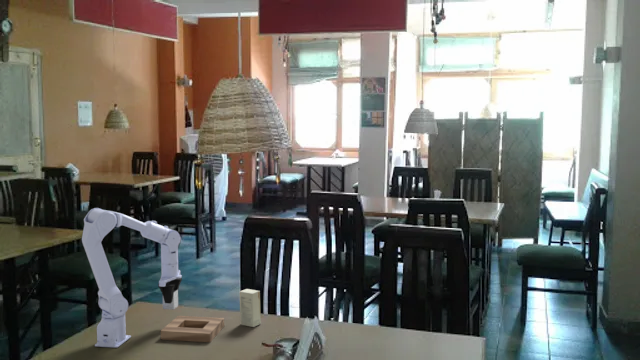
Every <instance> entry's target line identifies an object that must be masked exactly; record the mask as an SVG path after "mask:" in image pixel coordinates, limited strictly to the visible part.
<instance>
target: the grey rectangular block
mask: <svg viewBox="0 0 640 360" xmlns="http://www.w3.org/2000/svg"><path fill="white" fill-rule="evenodd" d="M178 307H179V288H178V289H173V294H172V302H171V303H165V301H164V298H163V297H162V310H175V309H177V308H178Z"/></svg>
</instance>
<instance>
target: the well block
mask: <svg viewBox="0 0 640 360" xmlns="http://www.w3.org/2000/svg"><path fill="white" fill-rule="evenodd" d="M224 327H225V317H212V316H211V317H210V316H192V315H191V316H187V315H177V316H176V317H175V318H174V319H172V320H171V321H170V322H169V323H168V324H166V325H165V326H163V328H162V329H161V330H160V340H163V341H175V342H176V341H178V342H193V343H194V342H195V343H196V342H197V343H212V341H213V340H214V339H215V337H216V336H217V335H219V334H220V332H221V331H222V330H223V329H224Z"/></svg>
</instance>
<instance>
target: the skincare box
mask: <svg viewBox="0 0 640 360" xmlns="http://www.w3.org/2000/svg"><path fill="white" fill-rule="evenodd" d="M260 292H261V291H260V290H256V289H252V288H251V289H250V288H245V289H243V290H240V291H239V314H240V315H239V318H240V319H239V320H240V325H241V326H247V327H252V328H255V327H256V326H259V325H261V324H262V319H261V318H262V317H261V315H262V314H261V293H260Z"/></svg>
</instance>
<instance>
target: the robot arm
mask: <svg viewBox="0 0 640 360" xmlns="http://www.w3.org/2000/svg"><path fill="white" fill-rule="evenodd" d="M83 223H84V225H83V231H82V236H81V243H82V246H83V248H84V251H85V253H86V257H87V259H88V262H89V266H90V268H91V271H92V273H93V277H94V279H95V281H96V284H97V287H98V291H97V295H98V307H99V308H100V310H101V311H102V312H101V320H100V322H99V323H97V326H96V339H97V340H96V341H97V342H96V343H95V344H94V347H101V348H119V347H120V346H122V345H123V344H124V343H125V342H126V341H128V340H129V339H131V338H132V335H128V334H126V333H127V330H126V329H127V327H126V312H128V310H129V302H128V300H127V299H126V298H125V297H124V296H123V294H122V292H121V290H120V289H119V288H118V286H117V284H116V281H115V278H114V276H113V272H112V269H111V267H110V265H109V262H108V258H107V255H106V252H105V250H104V247H103V244H102V241H103V239H104V238H105V237H106V236H107V235H108V234H109V233H110V232H111V231H112V230H113V229H115V227H116V228H119V227H121V226H124V227H127V228H129V229H132V230H135V231H138V232H140V235H141V236H142V238H145V239H148V240H151V241H153V242H156V243H159V244H160V263H161V269H160V270H161V275H160V279H159V280H158V284H157V286H158V289H159V291H160V292H161V295H162V299H163V298H164V301H165V303H171V302H172V294H173V289H178V290H179V288H180V285H181V284H182V283H181V282H182V281H183V279H182V277H183V275H182V274H181V270H180V269H179V244H180V243H181V240H182V237H181V235H180V233H179V232H178V231H177V230H174V229H171V228H169V226H168V225H164V226H163V225H161V224H158V221H156V220H153V219H152V220H147V221H145V222H143V221H140V220H138V219H136V218H133V217H132V216H129V215H126V214H124V213H121V212H117V211H113V210H106V209H102V208H101V207H100V208H99V207H94V208H91V209H90V210H89V211H88V212H87V214H86V215H85V217H84V218H83Z"/></svg>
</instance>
